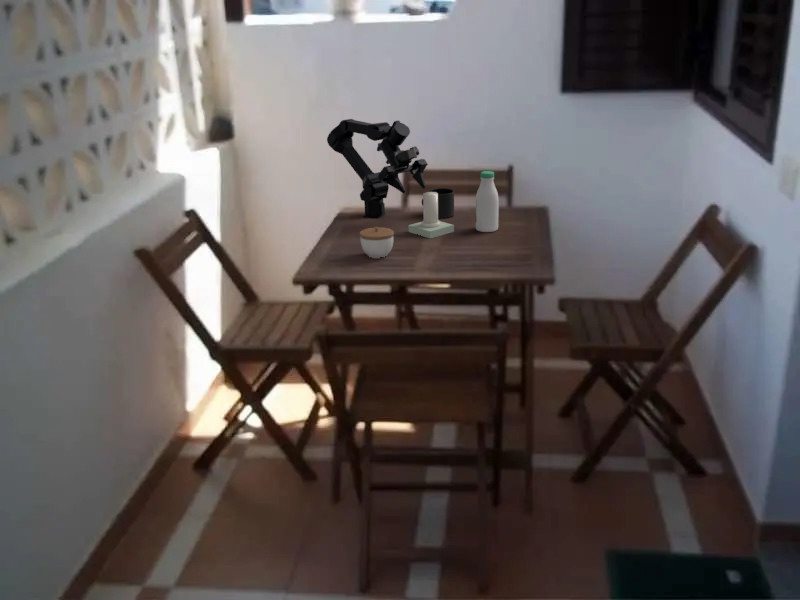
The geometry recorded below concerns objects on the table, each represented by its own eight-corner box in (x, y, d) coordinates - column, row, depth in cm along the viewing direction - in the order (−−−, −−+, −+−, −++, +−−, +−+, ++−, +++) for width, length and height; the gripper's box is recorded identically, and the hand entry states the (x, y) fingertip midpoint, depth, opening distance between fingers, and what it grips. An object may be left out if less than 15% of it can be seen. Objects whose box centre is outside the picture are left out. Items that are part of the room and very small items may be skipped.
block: (408, 232, 299) (408, 225, 299) (432, 225, 306) (432, 219, 305) (430, 238, 292) (430, 231, 291) (453, 231, 298) (453, 225, 297)
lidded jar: (355, 253, 278) (354, 225, 275) (386, 248, 282) (385, 220, 279) (367, 262, 269) (366, 233, 266) (399, 257, 273) (398, 228, 270)
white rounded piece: (422, 227, 295) (421, 196, 291) (421, 222, 301) (420, 191, 297) (440, 227, 295) (440, 195, 291) (439, 222, 301) (439, 191, 297)
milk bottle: (502, 229, 299) (503, 172, 292) (485, 233, 295) (485, 175, 288) (488, 225, 305) (488, 168, 298) (471, 229, 301) (471, 171, 294)
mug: (424, 211, 325) (423, 187, 321) (456, 212, 322) (456, 188, 319) (419, 218, 316) (418, 193, 313) (452, 219, 313) (451, 194, 310)
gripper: (382, 143, 292) (404, 181, 288) (423, 135, 303) (445, 172, 299) (368, 163, 300) (390, 200, 297) (409, 154, 312) (430, 190, 308)
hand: (414, 190), depth 300 cm, fingers open, 9 cm apart
